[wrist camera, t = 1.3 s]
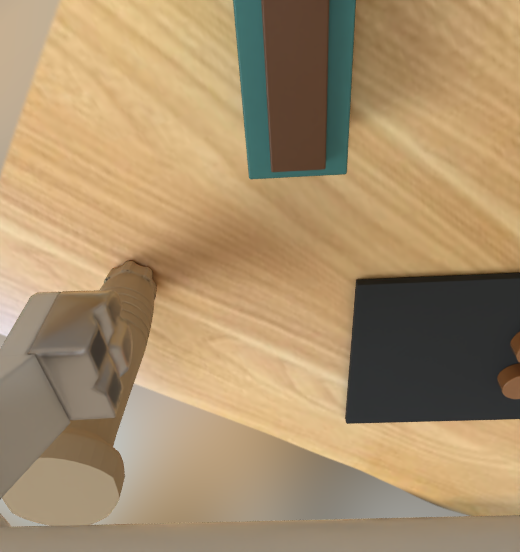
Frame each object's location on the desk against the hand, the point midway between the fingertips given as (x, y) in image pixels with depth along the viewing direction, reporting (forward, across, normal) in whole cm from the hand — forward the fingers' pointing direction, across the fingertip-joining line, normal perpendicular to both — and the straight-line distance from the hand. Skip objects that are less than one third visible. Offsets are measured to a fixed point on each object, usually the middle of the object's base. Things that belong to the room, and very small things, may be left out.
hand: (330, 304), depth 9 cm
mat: (+18, -16, +23) cm, 33 cm away
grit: (+18, -17, +25) cm, 35 cm away
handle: (+19, +11, +14) cm, 26 cm away
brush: (+18, 0, 0) cm, 18 cm away
